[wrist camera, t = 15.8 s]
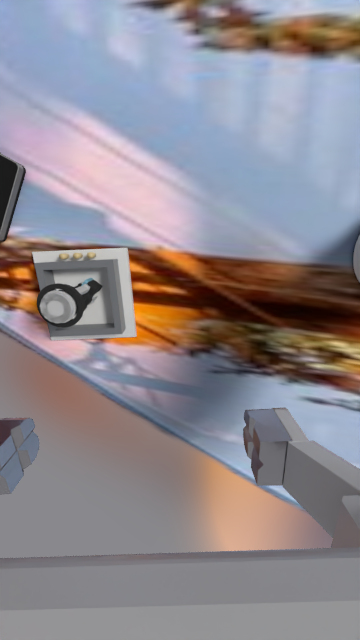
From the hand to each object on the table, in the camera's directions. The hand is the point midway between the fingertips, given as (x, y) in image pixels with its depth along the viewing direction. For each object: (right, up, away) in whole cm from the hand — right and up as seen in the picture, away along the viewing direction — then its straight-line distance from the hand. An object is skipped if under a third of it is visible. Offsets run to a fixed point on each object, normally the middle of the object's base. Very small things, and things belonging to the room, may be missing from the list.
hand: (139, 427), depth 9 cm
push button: (-13, +8, +27) cm, 31 cm away
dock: (-13, +8, +28) cm, 32 cm away
